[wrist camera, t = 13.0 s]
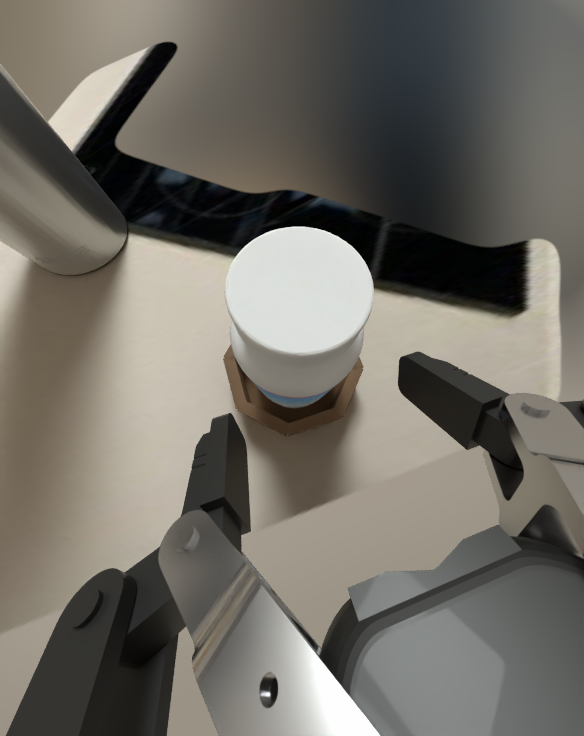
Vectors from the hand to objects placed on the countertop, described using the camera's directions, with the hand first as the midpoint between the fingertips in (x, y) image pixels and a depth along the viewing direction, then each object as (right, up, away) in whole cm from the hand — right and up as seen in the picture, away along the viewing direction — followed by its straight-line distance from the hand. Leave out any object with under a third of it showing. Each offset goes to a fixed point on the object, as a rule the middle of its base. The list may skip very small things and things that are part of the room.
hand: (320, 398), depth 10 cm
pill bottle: (-1, +1, +8) cm, 8 cm away
